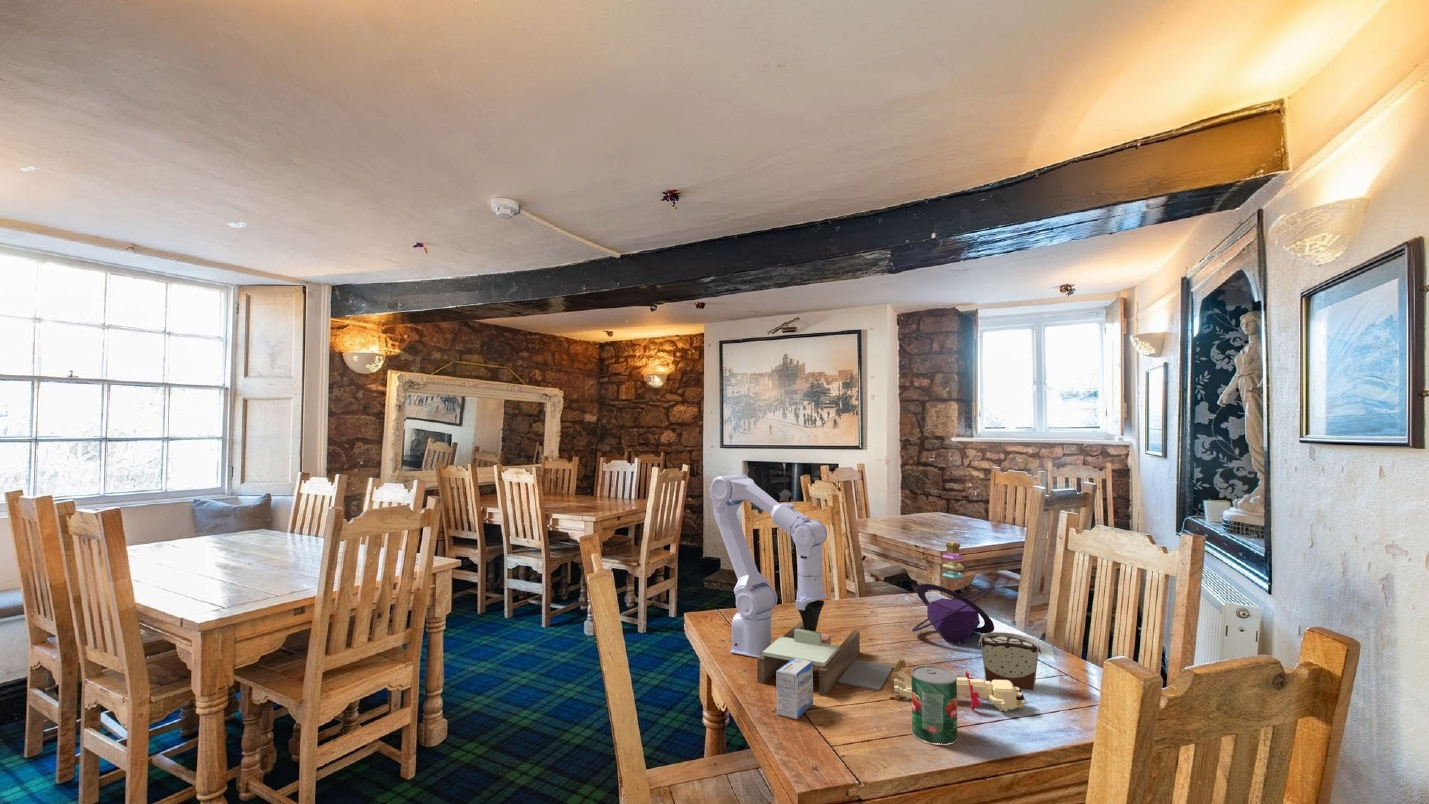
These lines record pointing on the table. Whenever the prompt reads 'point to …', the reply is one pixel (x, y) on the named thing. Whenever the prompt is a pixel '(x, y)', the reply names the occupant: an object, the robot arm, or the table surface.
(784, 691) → the medicine box
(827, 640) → the block
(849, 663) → the brown wooden frame
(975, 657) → the table surface
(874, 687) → the mat
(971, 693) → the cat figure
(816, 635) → the cover
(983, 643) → the food container
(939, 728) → the canned tomato
